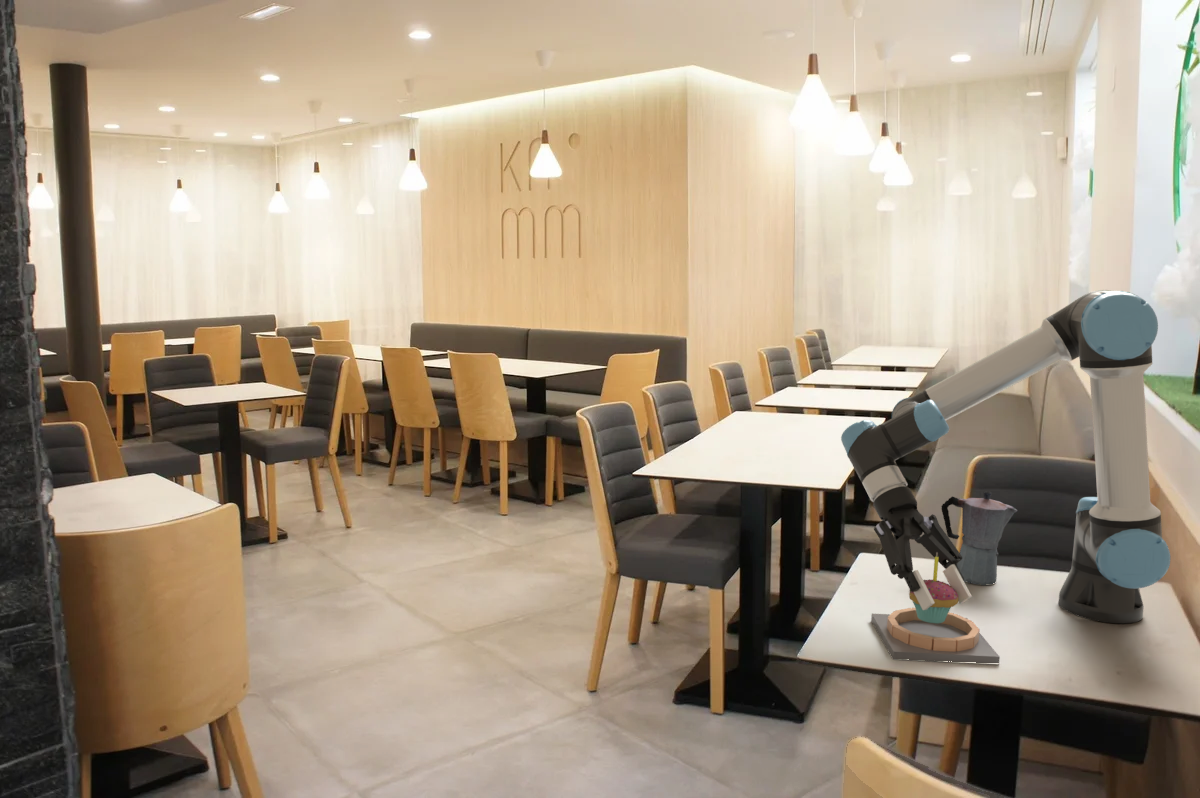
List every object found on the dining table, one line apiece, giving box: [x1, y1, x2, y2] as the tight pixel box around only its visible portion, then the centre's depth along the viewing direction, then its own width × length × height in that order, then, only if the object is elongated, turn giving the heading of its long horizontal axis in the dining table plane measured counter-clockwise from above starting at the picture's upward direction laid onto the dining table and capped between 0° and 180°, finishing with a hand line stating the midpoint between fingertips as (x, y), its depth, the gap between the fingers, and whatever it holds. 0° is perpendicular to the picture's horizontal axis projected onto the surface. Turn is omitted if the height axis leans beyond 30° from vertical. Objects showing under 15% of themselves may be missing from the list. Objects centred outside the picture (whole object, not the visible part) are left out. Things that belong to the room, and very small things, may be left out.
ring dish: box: [870, 607, 1001, 664], centre depth 173 cm, size 18×18×4 cm
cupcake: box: [908, 552, 959, 623], centre depth 172 cm, size 9×8×12 cm
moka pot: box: [940, 491, 1018, 586], centre depth 207 cm, size 10×15×20 cm, turn 78°
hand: (947, 603), depth 169 cm, fingers closed on cupcake, 8 cm apart
